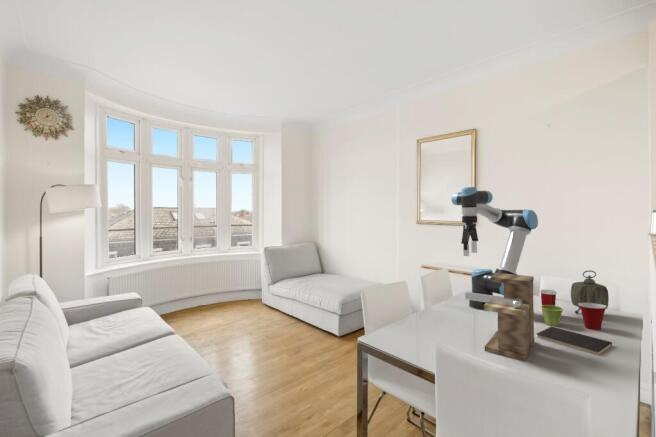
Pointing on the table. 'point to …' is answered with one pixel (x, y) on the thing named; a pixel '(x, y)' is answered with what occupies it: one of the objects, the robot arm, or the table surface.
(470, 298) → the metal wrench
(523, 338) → the step stand
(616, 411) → the table surface
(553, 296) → the paper cup
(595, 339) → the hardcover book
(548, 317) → the plant pot
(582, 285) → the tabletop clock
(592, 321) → the plastic cup
